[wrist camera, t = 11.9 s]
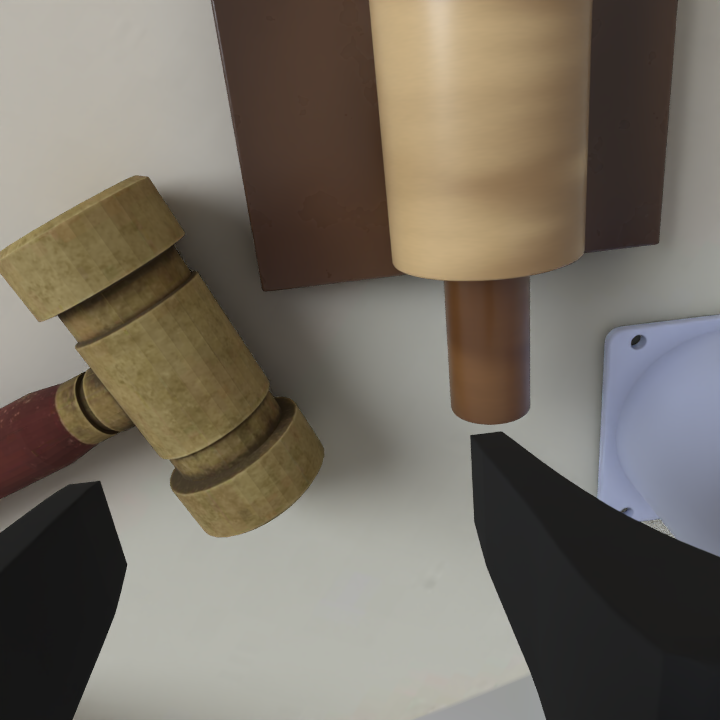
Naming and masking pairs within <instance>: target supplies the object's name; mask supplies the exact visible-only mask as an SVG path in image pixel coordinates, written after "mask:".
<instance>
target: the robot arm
mask: <svg viewBox="0 0 720 720" xmlns="http://www.w3.org/2000/svg"><path fill="white" fill-rule="evenodd" d="M637 335H641V338H640V341H639V342H638V343H637V344H635V345H631V341H632V339H633V338H634V337H635V336H637ZM470 438H471V460H472V481H473V503H474V522H475V526H476V530H477V534H478V537H479V541H480V545H481V548H482V552H483V555H484V559H485V563H486V566H487V569H488V571H489V574H490V576H491V579H492V581H493V584H494V586H495V588H496V591H497V593H498V596H499V598H500V601H501V603H502V605H503V608H504V610H505V613H506V615H507V617H508V620H509V622H510V624H511V627H512V629H513V632H514V634H515V636H516V639H517V641H518V644H519V646H520V648H521V651H522V653H523V655H524V658H525V660H526V663H527V665H528V667H529V670H530V673H531V675H532V678H533V681H534V683H535V686H536V689H537V692H538V694H539V698H540V701H541V704H542V707H543V711H544V714H545V717H546V720H720V314H718V315H710V316H702V317H694V318H686V319H677V320H669V321H661V322H653V323H645V324H636V325H628V326H620V327H617V328H614V329H613V330H611V331H610V332H609V333H608V335H607V336H606V339H605V347H604V368H603V390H602V411H601V432H600V454H599V475H598V497H597V498H596V497H594V496H593V495H591V494H589V493H588V492H586V491H584V490H583V489H581V488H580V487H578V486H577V485H575V484H574V483H572V482H570V481H569V480H567V479H566V478H565V477H563V476H562V475H560V474H559V473H557V472H556V471H554V470H553V469H552V468H550V467H549V466H547V465H546V464H545V463H543V462H542V461H541V460H539V459H538V458H536V457H535V456H534V455H532V454H531V453H530V452H528V451H527V450H526V449H524V448H523V447H522V446H521V445H519V444H518V443H517V442H515V441H514V440H513V439H511V438H510V437H509V436H507V435H506V434H505V433H503V432H494V433H485V434H477V435H470ZM624 508H628V510H626V511H625V512H623V513H622V512H621V511H622V510H623V509H624ZM656 519H661V520H662V522H663V523H664V524H665V525H666V527H667V528H668V529H669V530H670V532H671V533H672V534H673V535H674V537H675V538H676V539H675V538H673V537H670V536H668V535H666V534H664V533H661V532H659V531H657V530H655V529H653V528H651V527H649V526H647V525H645V524H643V523H641V522H640V521H648V520H656ZM126 568H127V563H126V559H125V556H124V553H123V550H122V547H121V544H120V541H119V538H118V535H117V532H116V529H115V525H114V522H113V519H112V516H111V513H110V510H109V507H108V504H107V501H106V498H105V494H104V491H103V488H102V485H101V482H100V481H95V482H87V483H78V484H70V485H67V486H66V487H64V488H62V489H61V490H59V491H58V492H56V493H55V494H53V495H52V496H50V497H49V498H47V499H46V500H44V501H43V502H42V503H40V504H39V505H37V506H36V507H35V508H33V509H32V510H31V511H29V512H28V513H27V514H25V515H24V516H22V517H21V518H20V519H18V520H17V521H16V522H14V523H13V524H12V525H10V526H9V527H8V528H6V529H5V530H4V531H2V532H1V533H0V720H72V719H73V717H74V714H75V712H76V710H77V707H78V705H79V702H80V700H81V697H82V695H83V692H84V690H85V688H86V685H87V683H88V680H89V678H90V675H91V673H92V670H93V668H94V666H95V663H96V661H97V658H98V656H99V653H100V651H101V648H102V646H103V643H104V641H105V638H106V636H107V633H108V631H109V628H110V626H111V623H112V620H113V618H114V615H115V612H116V609H117V605H118V601H119V597H120V594H121V590H122V585H123V581H124V577H125V572H126Z"/></svg>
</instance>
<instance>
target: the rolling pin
mask: <svg viewBox="0 0 720 720" xmlns="http://www.w3.org/2000/svg"><path fill="white" fill-rule="evenodd" d="M592 3H593V0H369V7H370V18H371V30H372V41H373V52H374V63H375V74H376V85H377V96H378V107H379V118H380V129H381V141H382V152H383V163H384V174H385V185H386V196H387V207H388V218H389V229H390V240H391V251H392V262H393V265H394V266H395V268H396V269H398V270H399V271H401V272H403V273H406V274H409V275H412V276H416V277H420V278H426V279H434V280H444V293H445V310H446V327H447V344H448V362H449V379H450V396H451V408H452V411H453V412H454V414H455V415H456V416H458V417H459V418H461V419H463V420H465V421H468V422H472V423H477V424H486V425H495V424H503V423H508V422H512V421H515V420H517V419H520V418H521V417H523V416H524V415H525V414H526V413H527V412H528V411H529V409H530V276H531V275H536V274H540V273H545V272H549V271H552V270H556V269H559V268H562V267H564V266H567V265H569V264H571V263H573V262H575V261H577V260H578V259H579V258H580V257H581V256H582V255H583V253H584V251H585V223H586V192H587V160H588V129H589V98H590V66H591V35H592Z"/></svg>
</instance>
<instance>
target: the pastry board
mask: <svg viewBox="0 0 720 720" xmlns="http://www.w3.org/2000/svg"><path fill="white" fill-rule="evenodd" d="M211 4H212V10H213V16H214V21H215V27H216V33H217V38H218V44H219V49H220V55H221V61H222V66H223V72H224V78H225V83H226V89H227V94H228V100H229V106H230V111H231V117H232V123H233V128H234V134H235V140H236V145H237V151H238V156H239V162H240V168H241V173H242V179H243V185H244V190H245V196H246V201H247V207H248V213H249V218H250V224H251V230H252V235H253V241H254V247H255V252H256V258H257V263H258V269H259V275H260V280H261V286H262V290H263V291H265V292H268V291H276V290H284V289H292V288H301V287H309V286H317V285H325V284H334V283H342V282H350V281H358V280H367V279H375V278H383V277H391V276H400V275H408V274H406V273H403V272H401V271H399V270H398V269H396V268H395V266H394V265H393V262H392V251H391V240H390V229H389V218H388V207H387V196H386V185H385V174H384V163H383V152H382V141H381V129H380V118H379V107H378V96H377V85H376V74H375V63H374V52H373V41H372V30H371V18H370V7H369V0H211ZM677 4H678V0H593V3H592V35H591V66H590V98H589V129H588V160H587V192H586V223H585V251H584V253H589V252H598V251H606V250H614V249H622V248H631V247H639V246H647V245H655V244H658V243H659V235H660V222H661V209H662V197H663V184H664V171H665V158H666V145H667V132H668V120H669V107H670V94H671V81H672V68H673V56H674V43H675V30H676V17H677Z"/></svg>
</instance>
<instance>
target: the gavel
mask: <svg viewBox="0 0 720 720" xmlns="http://www.w3.org/2000/svg"><path fill="white" fill-rule="evenodd" d="M184 235H185V232H184V231H183V229H182V228H181V226H180V225H179V223H178V222H177V220H176V219H175V217H174V215H173V214H172V212H171V211H170V209H169V208H168V206H167V205H166V203H165V202H164V200H163V198H162V197H161V195H160V194H159V192H158V191H157V189H156V188H155V186H154V185H153V183H152V182H151V180H150V178H149V177H145V176H137V175H135V176H133V177H130V178H128V179H126V180H124V181H122V182H120V183H118V184H116V185H114V186H112V187H110V188H108V189H106V190H104V191H103V192H101V193H99V194H97V195H95V196H93V197H91V198H90V199H88V200H86V201H84V202H82V203H80V204H79V205H77V206H75V207H73V208H72V209H70V210H68V211H66V212H64V213H63V214H61V215H59V216H57V217H56V218H54V219H52V220H51V221H49V222H47V223H45V224H44V225H42V226H40V227H39V228H37V229H35V230H33V231H32V232H30V233H28V234H27V235H25V236H24V237H22V238H20V239H19V240H17V241H16V242H14V243H12V244H11V245H9V246H8V247H6V248H5V249H3V250H2V251H1V252H0V273H1V275H2V276H3V277H4V278H5V280H6V281H7V282H8V283H9V285H10V286H11V287H12V289H13V290H14V291H15V292H16V294H17V295H18V296H19V297H20V299H21V300H22V301H23V302H24V304H25V305H26V306H27V307H28V309H29V310H30V311H31V313H32V314H33V315H34V316H35V318H36V319H37V320H38V321H39V322H42V321H45V320H47V319H50V318H52V317H54V316H57V315H58V317H59V318H60V319H61V321H62V322H63V323H64V324H65V326H66V327H67V328H68V330H69V331H70V332H71V334H72V335H73V336H74V337H75V339H76V340H77V341H78V343H77V344H76V346H75V349H76V350H77V351H78V352H79V354H80V355H81V356H82V358H83V359H84V360H85V361H86V363H87V364H88V365H89V367H90V368H89V369H88V370H87V371H86V372H84V373H81V374H80V375H78V376H76V377H74V378H72V379H70V380H68V381H66V382H64V383H62V384H58V385H55V386H52V387H49V388H45V389H42V390H39V391H36V392H33V393H29V394H27V395H25V396H23V397H22V398H20V399H18V400H16V401H14V402H12V403H10V404H8V405H6V406H5V407H3V408H1V409H0V499H1V498H3V497H6V496H8V495H10V494H12V493H14V492H16V491H18V490H20V489H22V488H24V487H26V486H28V485H30V484H32V483H34V482H36V481H38V480H40V479H42V478H44V477H46V476H48V475H50V474H52V473H54V472H56V471H58V470H60V469H62V468H64V467H66V466H68V465H70V464H72V463H73V462H75V461H76V460H77V459H79V458H80V457H81V456H83V455H84V454H85V453H87V452H88V451H89V450H91V449H92V448H93V447H95V446H96V445H97V444H98V443H100V442H102V441H104V440H106V439H108V438H110V437H112V436H114V435H116V434H118V433H119V432H121V431H126V430H128V429H130V428H132V427H134V426H136V427H137V428H138V429H139V431H140V432H141V433H142V434H143V436H144V437H145V438H146V440H147V441H148V442H149V443H150V445H151V446H152V447H153V449H154V450H155V451H156V452H157V454H158V455H159V456H160V457H161V458H163V459H169V460H170V461H171V463H172V464H173V465H174V466H175V469H174V470H173V473H172V475H171V478H170V486H171V489H172V491H173V492H174V493H175V494H176V496H177V497H178V498H179V500H180V501H181V502H182V503H183V505H184V506H185V507H186V508H187V510H188V511H189V512H190V513H191V515H192V516H193V517H194V518H195V520H196V521H197V522H198V524H199V525H200V526H201V527H202V529H203V530H204V531H205V532H206V533H208V534H209V535H211V536H214V537H230V536H235V535H239V534H242V533H246V532H248V531H251V530H254V529H256V528H258V527H260V526H262V525H264V524H266V523H268V522H270V521H271V520H273V519H274V518H276V517H277V516H279V515H280V514H282V513H283V512H284V511H285V510H287V509H288V508H289V507H290V506H291V505H293V504H294V503H295V502H296V501H297V500H298V499H299V498H300V497H301V496H302V495H303V493H304V492H305V491H306V490H307V489H308V487H309V486H310V484H311V483H312V482H313V480H314V479H315V477H316V475H317V474H318V472H319V469H320V467H321V465H322V462H323V458H324V448H323V446H322V444H321V442H320V440H319V439H318V437H317V436H316V434H315V433H314V431H313V430H312V428H311V427H310V425H309V424H308V422H307V420H306V419H305V417H304V416H303V414H302V413H301V411H300V410H299V408H298V407H297V405H296V403H295V402H294V401H293V400H291V399H290V398H286V397H275V398H274V397H273V396H272V394H271V393H270V391H269V385H270V383H269V381H268V379H267V377H266V376H265V374H264V373H263V371H262V370H261V368H260V367H259V365H258V364H257V362H256V361H255V359H254V357H253V356H252V354H251V353H250V351H249V350H248V348H247V347H246V345H245V344H244V342H243V341H242V339H241V338H240V336H239V335H238V333H237V332H236V330H235V329H234V327H233V326H232V324H231V323H230V321H229V319H228V318H227V316H226V315H225V313H224V312H223V310H222V309H221V307H220V306H219V304H218V303H217V301H216V300H215V298H214V297H213V295H212V294H211V292H210V291H209V289H208V288H207V286H206V284H205V283H204V281H203V280H202V278H201V277H200V275H199V274H198V272H196V271H193V272H190V270H189V269H188V267H187V266H186V264H185V263H184V261H183V260H182V258H181V257H180V255H179V254H178V252H177V251H176V249H175V248H174V246H173V245H174V244H175V243H176V242H177V241H178V240H180V239H181V238H182V237H183V236H184Z"/></svg>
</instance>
